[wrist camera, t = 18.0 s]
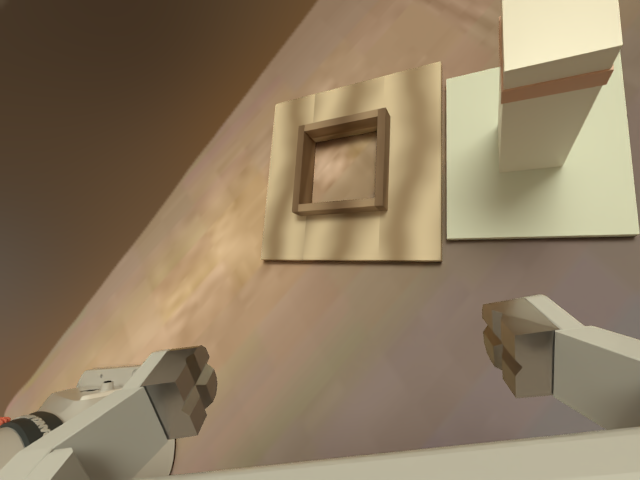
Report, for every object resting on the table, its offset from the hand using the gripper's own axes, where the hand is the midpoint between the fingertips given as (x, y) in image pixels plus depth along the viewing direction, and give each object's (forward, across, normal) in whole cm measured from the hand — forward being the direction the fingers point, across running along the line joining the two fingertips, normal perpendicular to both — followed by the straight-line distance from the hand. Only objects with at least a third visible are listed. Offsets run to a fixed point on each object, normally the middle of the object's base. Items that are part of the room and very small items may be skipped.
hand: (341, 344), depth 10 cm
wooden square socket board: (+29, -1, -1) cm, 29 cm away
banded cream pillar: (+22, -17, -2) cm, 27 cm away
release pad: (+22, -17, -1) cm, 28 cm away
